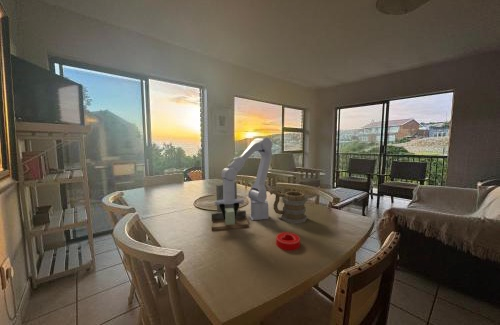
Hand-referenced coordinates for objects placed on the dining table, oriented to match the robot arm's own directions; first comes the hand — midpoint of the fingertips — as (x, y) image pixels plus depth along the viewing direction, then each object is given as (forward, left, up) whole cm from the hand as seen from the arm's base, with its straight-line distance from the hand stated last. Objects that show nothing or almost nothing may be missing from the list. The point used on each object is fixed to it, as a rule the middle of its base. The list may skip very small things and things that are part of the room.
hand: (229, 218), depth 103 cm
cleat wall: (0, -1, -3) cm, 3 cm away
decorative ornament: (-22, +24, -4) cm, 33 cm away
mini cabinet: (0, 0, -2) cm, 2 cm away
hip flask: (0, -20, -4) cm, 20 cm away
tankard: (-32, -3, -4) cm, 32 cm away
